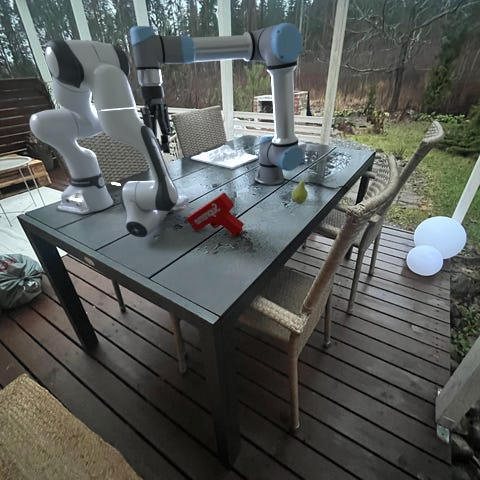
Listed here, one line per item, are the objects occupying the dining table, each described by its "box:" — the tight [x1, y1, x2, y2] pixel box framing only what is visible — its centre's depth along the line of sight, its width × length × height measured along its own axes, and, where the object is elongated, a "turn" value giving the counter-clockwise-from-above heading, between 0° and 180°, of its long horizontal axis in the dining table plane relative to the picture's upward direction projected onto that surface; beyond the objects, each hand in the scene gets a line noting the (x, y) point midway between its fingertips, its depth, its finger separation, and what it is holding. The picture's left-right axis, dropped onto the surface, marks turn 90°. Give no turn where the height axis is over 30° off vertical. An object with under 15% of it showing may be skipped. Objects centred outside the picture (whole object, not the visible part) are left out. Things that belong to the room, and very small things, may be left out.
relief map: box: [190, 144, 259, 170], centre depth 177 cm, size 27×35×5 cm
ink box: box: [298, 141, 308, 164], centre depth 167 cm, size 8×5×12 cm, turn 135°
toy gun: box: [186, 192, 245, 238], centre depth 98 cm, size 18×4×15 cm
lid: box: [159, 140, 170, 151], centre depth 102 cm, size 5×5×2 cm
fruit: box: [291, 174, 311, 204], centre depth 118 cm, size 7×8×12 cm
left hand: (169, 194), depth 113 cm, fingers closed on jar, 4 cm apart
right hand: (162, 154), depth 103 cm, fingers closed on lid, 5 cm apart
